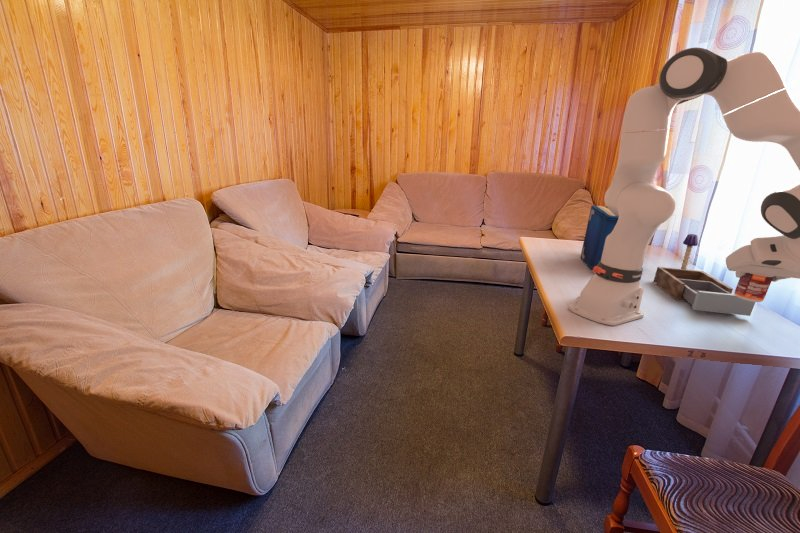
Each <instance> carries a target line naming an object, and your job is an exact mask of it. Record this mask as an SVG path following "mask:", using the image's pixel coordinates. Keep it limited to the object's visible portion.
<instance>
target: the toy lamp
mask: <svg viewBox="0 0 800 533" xmlns="http://www.w3.org/2000/svg"><path fill="white" fill-rule="evenodd" d="M682 243H683V245H685V246H686V248H685V253H684V256H683V260H682V263H681V267H680V269H686V270H687V268H688V263H689V260H690V258H691V257H690V256H691V252H692V249H693V247H696V246H698V244H699V240H698V235H697V234H694V233H688V234H687V236H685V239H684V240H683V242H682Z"/></svg>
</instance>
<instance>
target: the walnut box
mask: <svg viewBox="0 0 800 533" xmlns="http://www.w3.org/2000/svg"><path fill="white" fill-rule="evenodd" d="M677 278H678V279H677ZM679 279H688V280H698V281H709V282H713V283H715V284H716V285H718V286H719V287H721V288H723V289H724V290H726V291H728V292H729V293H731V294H733V291H734V289H733V288H732V286H731V287H730V286H729V285H727V284H726V283H724V282H722V281H720V280H718V279H717V278H716V277H713V276H712V275H710V274H709V273H707V272H705V271H703V270H698V269H696V270H694V269H687V268H686V269H681V268H676V267H675V268H674V267H661V266H657V268H656V271H655V275H654V279H653V283H655V284H656V285H657V286H658V287H659V288H660V289H662V290H663V291H664V292H666V293H667V294H668V295H670V297H671V298H673V299H675V300H676V301H683V302H688V301H687V300H686V299H684V298H683V297H682V293H683V290H684V287H685V283H683V282H682V281H680V280H679Z"/></svg>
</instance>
